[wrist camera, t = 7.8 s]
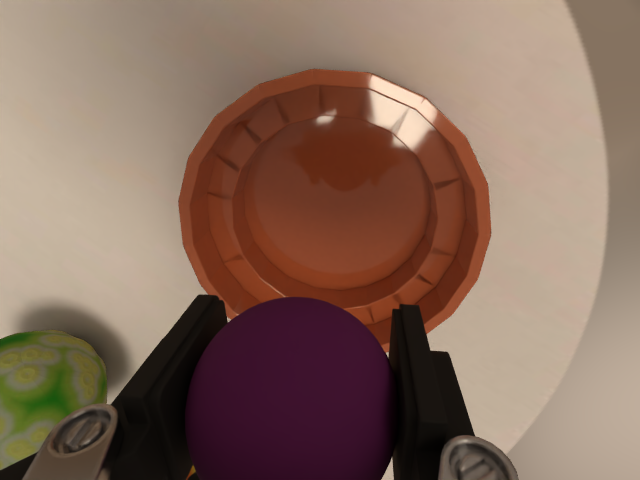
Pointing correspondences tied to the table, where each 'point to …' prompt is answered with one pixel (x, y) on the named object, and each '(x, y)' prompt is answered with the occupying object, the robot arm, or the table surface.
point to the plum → (292, 397)
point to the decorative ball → (43, 387)
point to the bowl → (336, 200)
